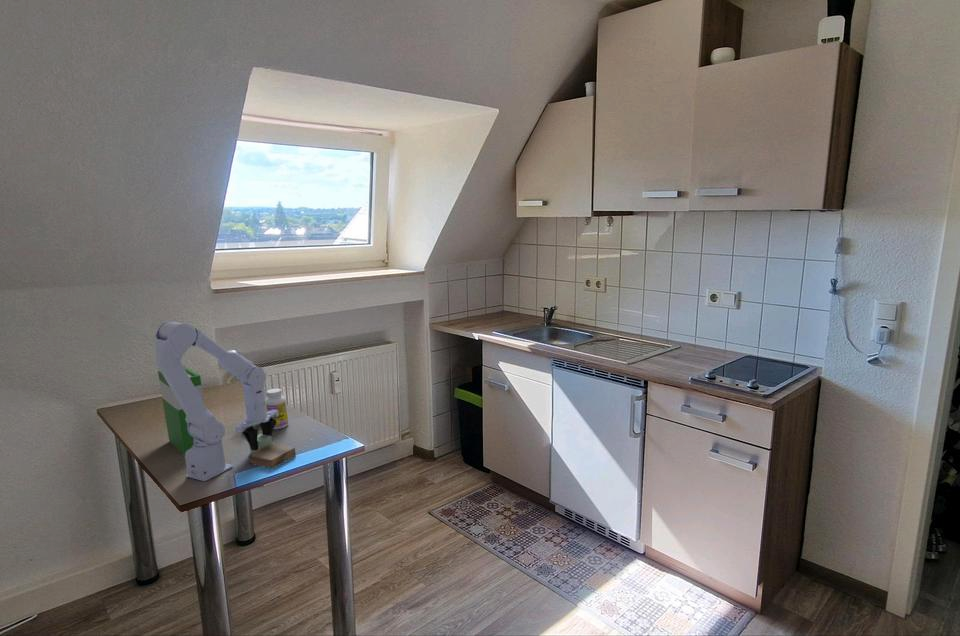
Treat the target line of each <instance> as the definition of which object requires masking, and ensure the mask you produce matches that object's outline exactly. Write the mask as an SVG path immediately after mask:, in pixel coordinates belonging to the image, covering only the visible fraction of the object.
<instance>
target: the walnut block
mask: <svg viewBox="0 0 960 636" xmlns="http://www.w3.org/2000/svg"><path fill="white" fill-rule="evenodd" d="M295 455H296V456H297V453H296V447H294V446H290V445H289V446H288V445H283V444H277V443H274V442H272V444H270V445H269V446H267V447H265V448H263V449H261V450H259V451H257V452H255V453H253V454H252V453H250V454H248V458H249V459H248V461H249V464H250V463H252V464H251V465H253V464H256V465H255V466H258V465H260V466H259V467H262V466H265V467H264V468H267V467H269V468H268V469H271V468H273V469H274V467H275V466H277V465H278V466H280V465H282V464H284V463H285V462H284V461H286V460H287V461H289V460H291V459H293V458H295V457H296V456H295ZM294 456H295V457H294ZM292 457H293V458H292ZM290 458H291V459H290ZM288 459H289V460H288ZM287 461H286V462H287ZM283 462H284V463H283ZM281 463H282V464H281ZM279 464H280V465H279ZM278 466H277V467H278ZM275 468H276V467H275Z"/></svg>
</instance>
